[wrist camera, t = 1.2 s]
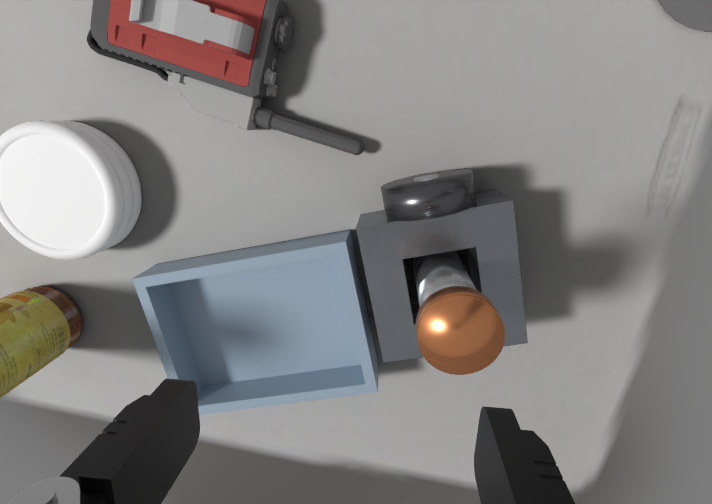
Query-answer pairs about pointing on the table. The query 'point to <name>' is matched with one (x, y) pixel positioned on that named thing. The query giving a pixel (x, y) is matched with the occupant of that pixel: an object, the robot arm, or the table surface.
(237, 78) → the walkie-talkie
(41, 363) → the sauce bottle
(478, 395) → the table surface
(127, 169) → the white round disc stack
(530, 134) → the table surface
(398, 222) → the block
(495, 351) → the lock pin
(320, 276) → the tray
